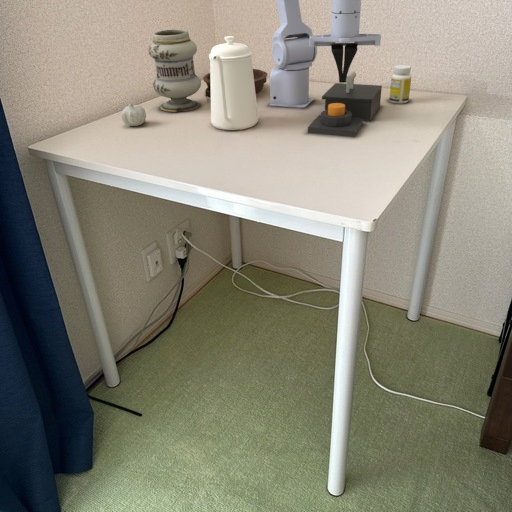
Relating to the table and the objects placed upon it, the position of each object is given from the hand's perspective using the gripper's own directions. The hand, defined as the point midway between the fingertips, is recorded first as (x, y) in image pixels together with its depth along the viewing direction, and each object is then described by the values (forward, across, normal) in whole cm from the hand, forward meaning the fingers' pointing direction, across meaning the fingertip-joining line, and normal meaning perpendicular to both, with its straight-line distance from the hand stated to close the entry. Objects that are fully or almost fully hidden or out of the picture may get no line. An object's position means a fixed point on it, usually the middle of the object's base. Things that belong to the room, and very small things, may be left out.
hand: (342, 81), depth 106 cm
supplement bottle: (+9, +15, +17) cm, 25 cm away
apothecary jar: (+9, -41, +13) cm, 44 cm away
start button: (+6, -1, -4) cm, 7 cm away
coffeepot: (+9, -24, -2) cm, 26 cm away
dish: (+9, -28, +26) cm, 40 cm away
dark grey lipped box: (+9, +3, +8) cm, 12 cm away
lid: (+5, +3, +8) cm, 10 cm away
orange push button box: (+9, -1, -4) cm, 10 cm away
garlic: (+9, -48, -1) cm, 49 cm away
